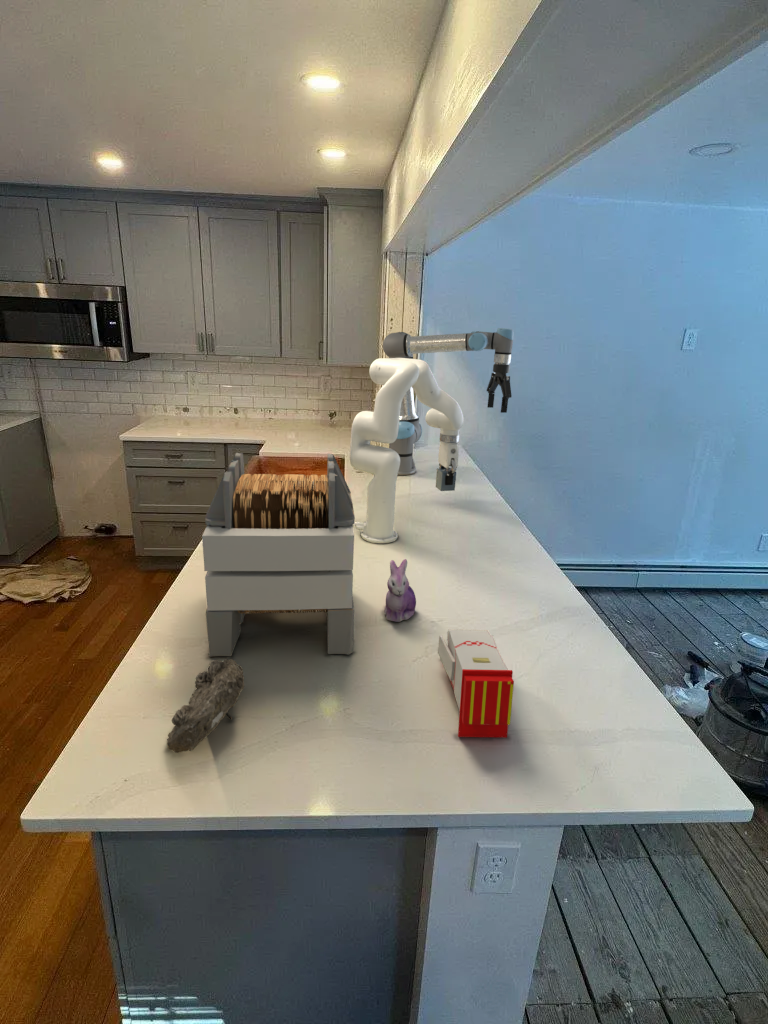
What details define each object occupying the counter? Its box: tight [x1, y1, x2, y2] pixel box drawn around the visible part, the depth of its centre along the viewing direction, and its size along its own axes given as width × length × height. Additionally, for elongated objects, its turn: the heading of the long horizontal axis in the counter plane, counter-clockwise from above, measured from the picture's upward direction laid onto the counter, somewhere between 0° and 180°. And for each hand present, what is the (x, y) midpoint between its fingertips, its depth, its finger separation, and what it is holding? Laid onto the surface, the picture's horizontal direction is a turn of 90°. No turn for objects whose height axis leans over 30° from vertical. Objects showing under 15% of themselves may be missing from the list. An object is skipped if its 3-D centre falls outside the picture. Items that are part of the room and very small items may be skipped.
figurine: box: [384, 558, 417, 623], centre depth 145 cm, size 9×10×15 cm
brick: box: [435, 468, 457, 492], centre depth 228 cm, size 6×6×8 cm
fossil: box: [166, 658, 245, 754], centre depth 106 cm, size 22×10×15 cm
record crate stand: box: [201, 452, 356, 658], centre depth 136 cm, size 34×33×41 cm
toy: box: [437, 628, 515, 738], centre depth 117 cm, size 12×13×30 cm
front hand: (445, 482), depth 228 cm, fingers closed on brick, 5 cm apart
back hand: (496, 410), depth 267 cm, fingers open, 13 cm apart
